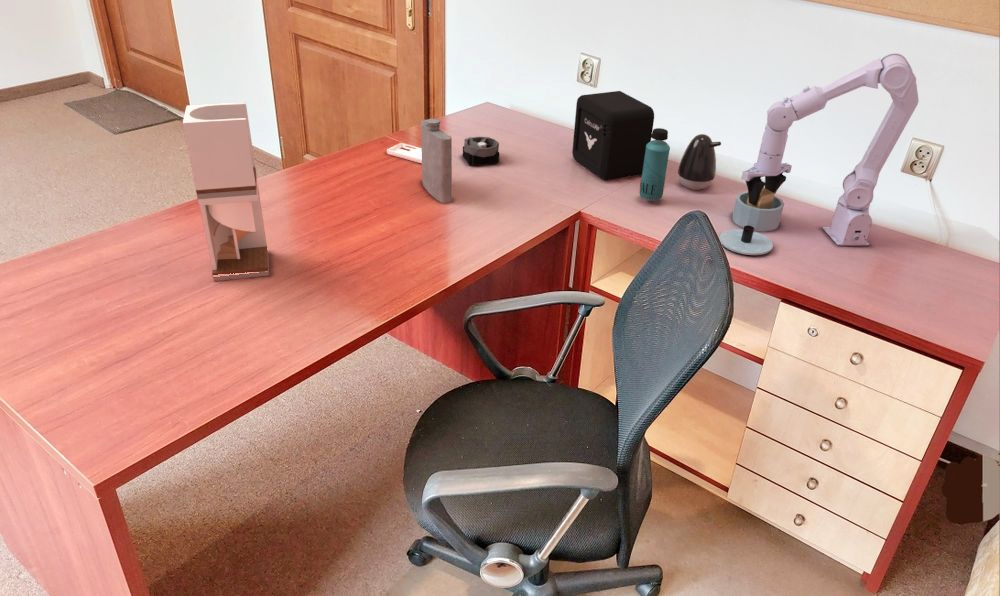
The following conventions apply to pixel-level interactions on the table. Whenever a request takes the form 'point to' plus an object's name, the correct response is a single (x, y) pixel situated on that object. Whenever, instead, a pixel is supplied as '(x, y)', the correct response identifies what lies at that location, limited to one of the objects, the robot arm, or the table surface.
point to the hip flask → (436, 160)
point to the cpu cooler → (481, 151)
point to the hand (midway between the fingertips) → (759, 202)
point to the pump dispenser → (698, 163)
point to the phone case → (406, 152)
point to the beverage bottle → (655, 166)
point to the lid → (746, 241)
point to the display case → (227, 188)
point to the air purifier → (612, 134)
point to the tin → (757, 214)
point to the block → (763, 200)
